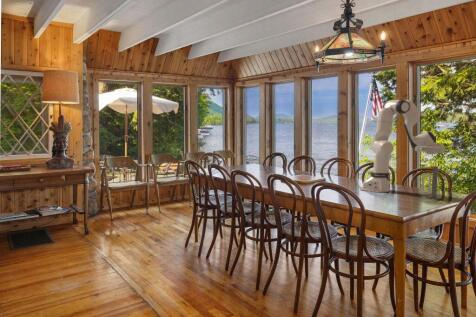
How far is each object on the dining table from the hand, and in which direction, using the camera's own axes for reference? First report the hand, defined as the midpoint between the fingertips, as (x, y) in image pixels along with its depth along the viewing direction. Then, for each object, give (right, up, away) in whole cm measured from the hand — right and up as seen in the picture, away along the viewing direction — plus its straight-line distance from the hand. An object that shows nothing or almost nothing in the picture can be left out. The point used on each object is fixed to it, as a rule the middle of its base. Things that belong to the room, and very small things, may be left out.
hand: (429, 149), depth 283 cm
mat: (-6, -33, -7) cm, 34 cm away
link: (-7, -32, -8) cm, 34 cm away
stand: (-6, -34, -19) cm, 39 cm away
